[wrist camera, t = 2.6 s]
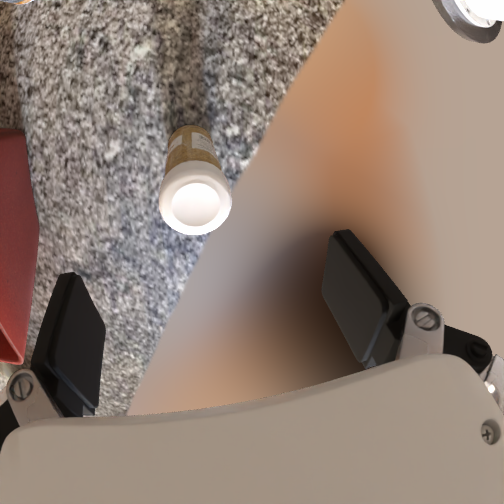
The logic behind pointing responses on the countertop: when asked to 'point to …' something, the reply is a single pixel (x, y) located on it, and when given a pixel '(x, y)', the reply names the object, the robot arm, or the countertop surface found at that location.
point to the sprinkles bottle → (193, 184)
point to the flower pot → (16, 245)
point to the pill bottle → (17, 1)
